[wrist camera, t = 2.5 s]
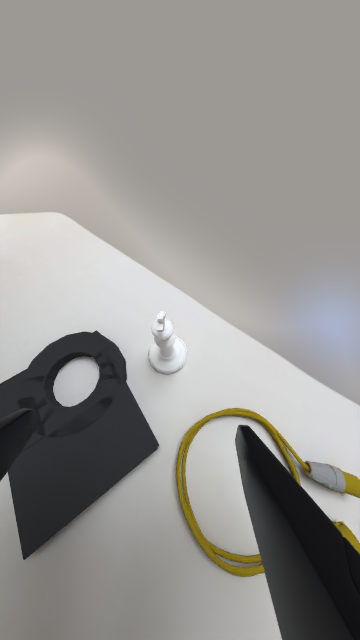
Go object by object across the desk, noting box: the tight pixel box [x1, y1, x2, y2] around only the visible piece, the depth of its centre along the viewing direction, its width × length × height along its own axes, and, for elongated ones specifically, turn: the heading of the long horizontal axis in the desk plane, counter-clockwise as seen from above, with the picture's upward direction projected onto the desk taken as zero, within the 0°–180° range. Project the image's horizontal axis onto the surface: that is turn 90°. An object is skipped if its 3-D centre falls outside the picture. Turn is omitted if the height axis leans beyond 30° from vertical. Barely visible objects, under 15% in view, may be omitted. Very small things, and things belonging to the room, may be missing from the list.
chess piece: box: [149, 311, 187, 374], centre depth 17 cm, size 5×5×10 cm
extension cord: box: [176, 408, 360, 577], centre depth 15 cm, size 12×16×2 cm
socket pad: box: [0, 331, 159, 560], centre depth 18 cm, size 17×13×2 cm
